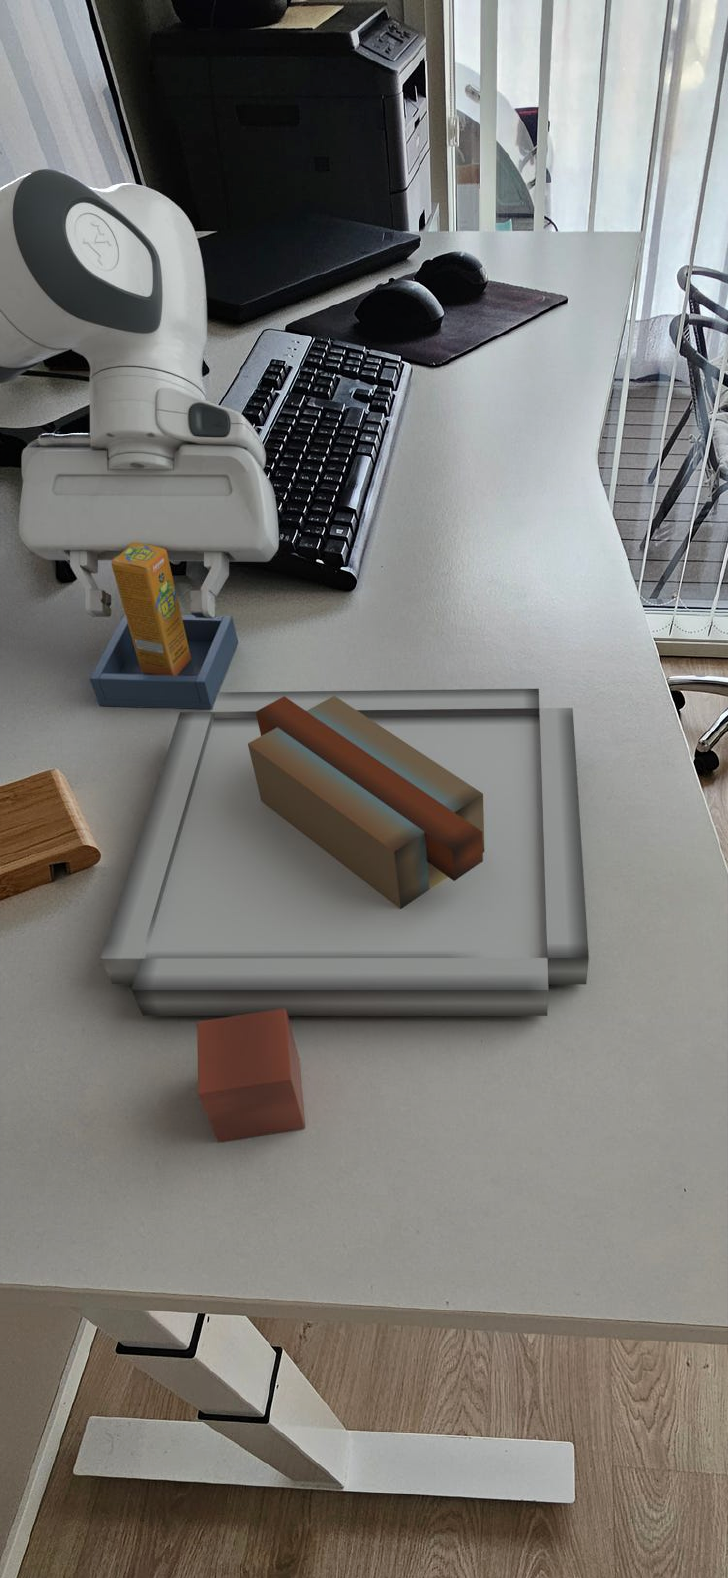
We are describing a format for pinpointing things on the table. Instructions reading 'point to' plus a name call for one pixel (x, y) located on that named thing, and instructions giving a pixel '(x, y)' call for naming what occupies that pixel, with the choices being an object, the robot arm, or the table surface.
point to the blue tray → (192, 688)
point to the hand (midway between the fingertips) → (150, 615)
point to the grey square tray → (358, 858)
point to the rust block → (250, 1075)
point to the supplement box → (152, 609)
